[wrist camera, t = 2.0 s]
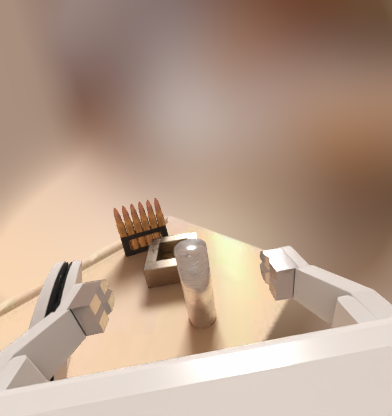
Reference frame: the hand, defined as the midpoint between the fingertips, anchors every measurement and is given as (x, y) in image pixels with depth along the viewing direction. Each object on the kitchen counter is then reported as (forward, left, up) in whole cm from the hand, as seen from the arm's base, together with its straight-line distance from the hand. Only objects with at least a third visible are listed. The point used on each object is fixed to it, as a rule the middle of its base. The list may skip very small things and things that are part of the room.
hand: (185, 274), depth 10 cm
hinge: (-21, +13, -19) cm, 31 cm away
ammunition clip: (-11, +31, -18) cm, 38 cm away
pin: (0, +11, -18) cm, 21 cm away
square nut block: (-4, +23, -18) cm, 30 cm away
